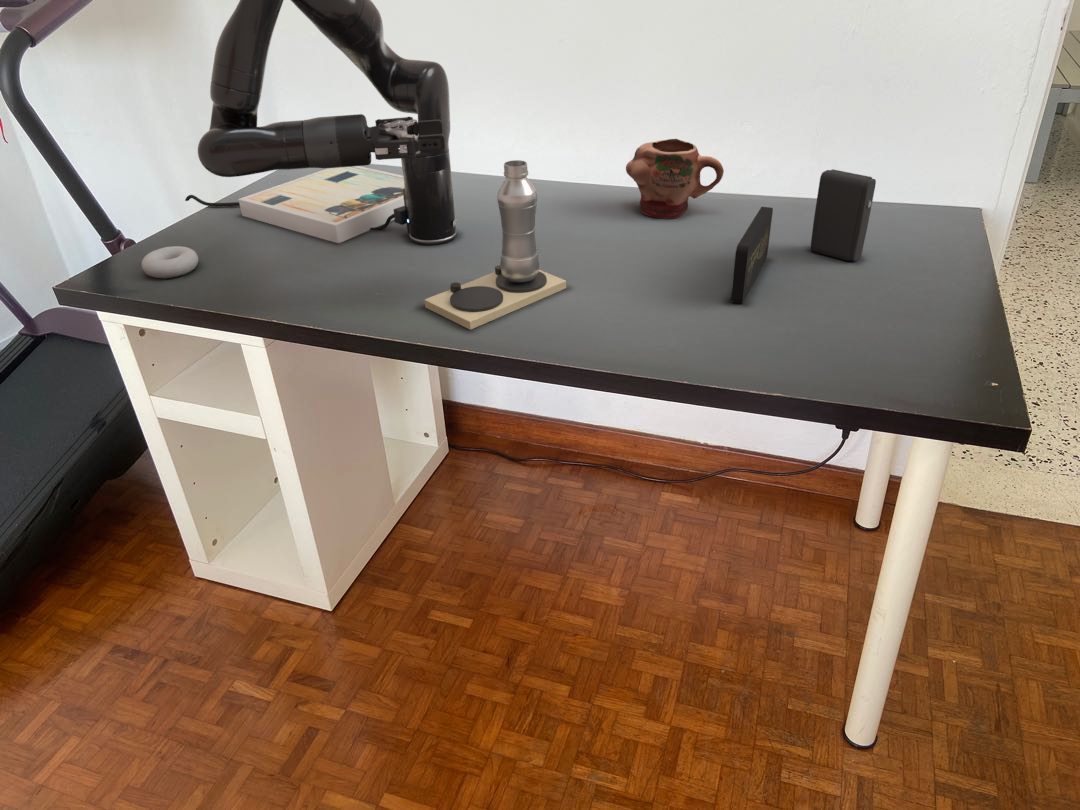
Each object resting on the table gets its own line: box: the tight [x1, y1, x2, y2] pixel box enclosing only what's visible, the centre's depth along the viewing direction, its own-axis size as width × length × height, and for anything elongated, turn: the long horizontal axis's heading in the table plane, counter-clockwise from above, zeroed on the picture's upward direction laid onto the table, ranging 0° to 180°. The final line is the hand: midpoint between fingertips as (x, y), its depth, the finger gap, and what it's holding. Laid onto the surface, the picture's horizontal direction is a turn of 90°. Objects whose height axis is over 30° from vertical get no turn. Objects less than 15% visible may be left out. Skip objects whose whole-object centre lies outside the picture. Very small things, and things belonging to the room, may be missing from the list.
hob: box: [424, 264, 567, 331], centre depth 143 cm, size 12×22×3 cm, turn 134°
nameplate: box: [730, 206, 774, 304], centre depth 144 cm, size 21×2×10 cm, turn 156°
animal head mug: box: [625, 138, 725, 219], centre depth 173 cm, size 20×12×14 cm, turn 77°
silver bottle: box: [496, 159, 540, 282], centre depth 140 cm, size 6×7×20 cm
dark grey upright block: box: [810, 168, 877, 262], centre depth 151 cm, size 9×4×15 cm, turn 47°
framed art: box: [238, 166, 405, 244], centre depth 184 cm, size 30×4×30 cm
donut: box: [141, 245, 199, 279], centre depth 157 cm, size 10×4×10 cm
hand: (443, 134), depth 130 cm, fingers open, 8 cm apart
